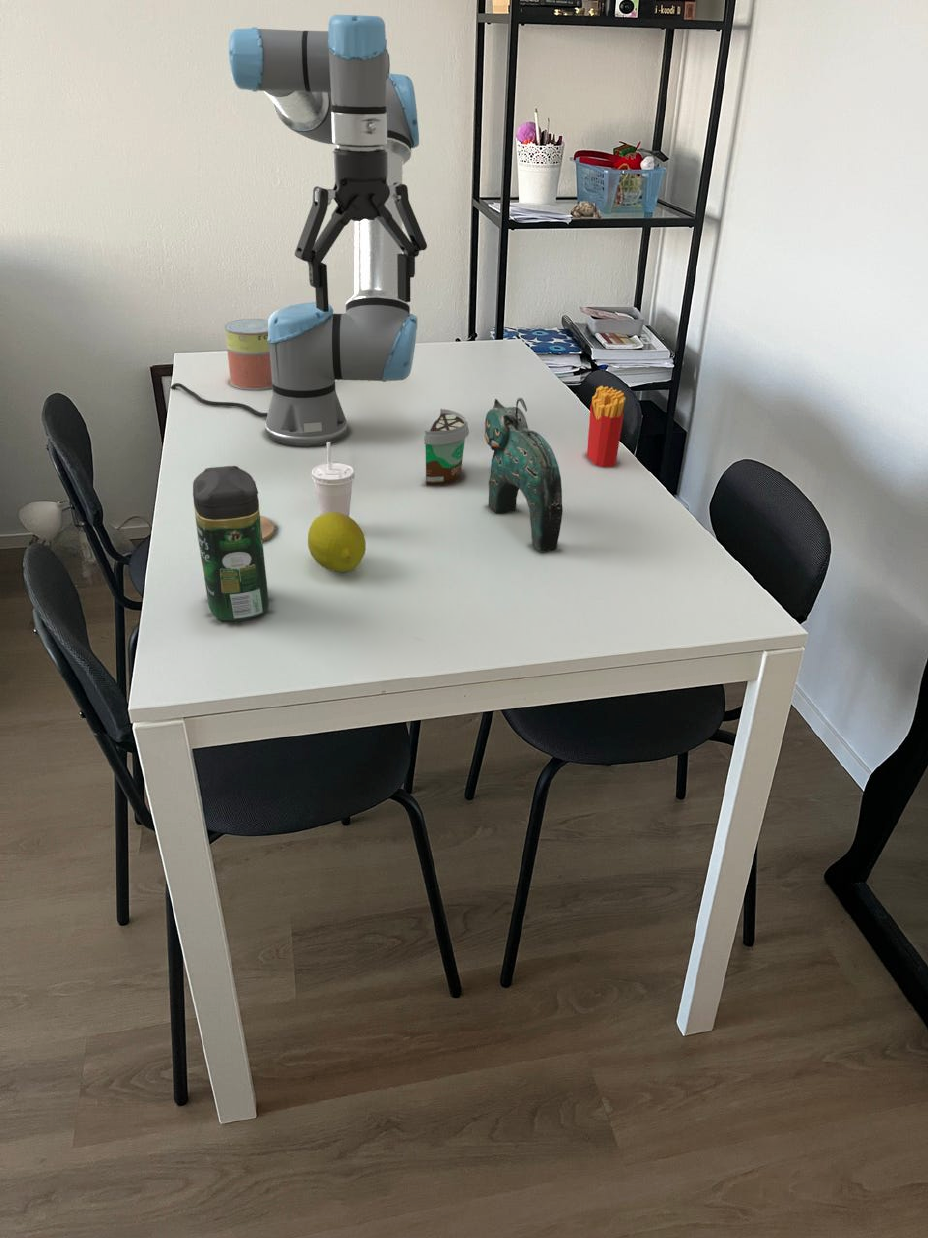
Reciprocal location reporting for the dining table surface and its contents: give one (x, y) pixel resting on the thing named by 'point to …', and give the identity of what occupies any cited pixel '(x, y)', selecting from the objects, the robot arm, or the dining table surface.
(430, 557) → the dining table surface
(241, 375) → the canned food
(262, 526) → the cork coaster
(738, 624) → the dining table surface
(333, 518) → the lemon
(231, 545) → the coffee jar
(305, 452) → the dining table surface
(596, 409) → the french fries
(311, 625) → the dining table surface
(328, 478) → the white drink cup
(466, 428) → the food container
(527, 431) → the ceramic cat
